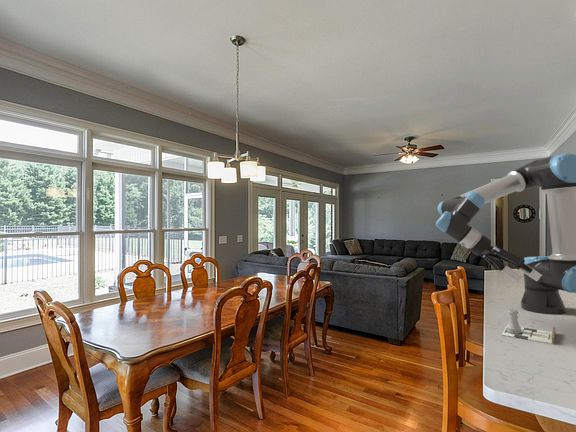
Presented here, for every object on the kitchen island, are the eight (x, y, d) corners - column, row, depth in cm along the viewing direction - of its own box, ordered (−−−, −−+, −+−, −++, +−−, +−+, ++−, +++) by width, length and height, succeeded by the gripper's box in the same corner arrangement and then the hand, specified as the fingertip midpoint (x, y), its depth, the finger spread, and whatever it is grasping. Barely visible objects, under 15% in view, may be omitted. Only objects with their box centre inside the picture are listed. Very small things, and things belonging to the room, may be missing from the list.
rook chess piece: (515, 329, 116) (514, 307, 116) (525, 333, 112) (523, 311, 112) (503, 330, 116) (502, 308, 116) (512, 334, 111) (511, 311, 112)
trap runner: (507, 326, 120) (506, 320, 120) (555, 333, 111) (555, 327, 111) (502, 335, 111) (501, 329, 111) (554, 344, 102) (553, 337, 102)
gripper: (459, 253, 133) (507, 287, 127) (481, 245, 109) (541, 286, 103) (470, 239, 133) (518, 272, 127) (494, 228, 110) (555, 268, 103)
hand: (529, 278), depth 115 cm, fingers open, 13 cm apart
